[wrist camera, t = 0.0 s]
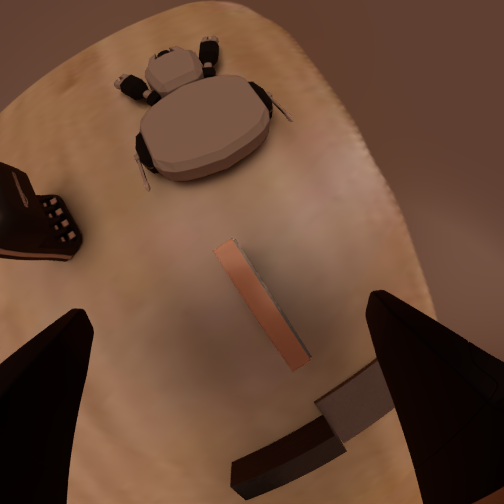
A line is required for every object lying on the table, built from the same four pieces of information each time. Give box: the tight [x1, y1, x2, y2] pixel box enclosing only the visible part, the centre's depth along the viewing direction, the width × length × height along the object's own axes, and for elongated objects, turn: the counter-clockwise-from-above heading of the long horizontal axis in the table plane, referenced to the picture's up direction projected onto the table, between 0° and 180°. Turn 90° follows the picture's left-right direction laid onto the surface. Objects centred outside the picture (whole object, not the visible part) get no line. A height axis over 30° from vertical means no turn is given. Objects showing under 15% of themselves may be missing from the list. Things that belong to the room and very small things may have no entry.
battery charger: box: [0, 162, 82, 262], centre depth 17 cm, size 7×4×11 cm, turn 39°
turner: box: [230, 358, 395, 500], centre depth 20 cm, size 6×17×4 cm, turn 123°
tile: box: [213, 239, 312, 371], centre depth 19 cm, size 8×1×8 cm, turn 33°
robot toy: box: [114, 36, 293, 191], centre depth 22 cm, size 12×4×15 cm
